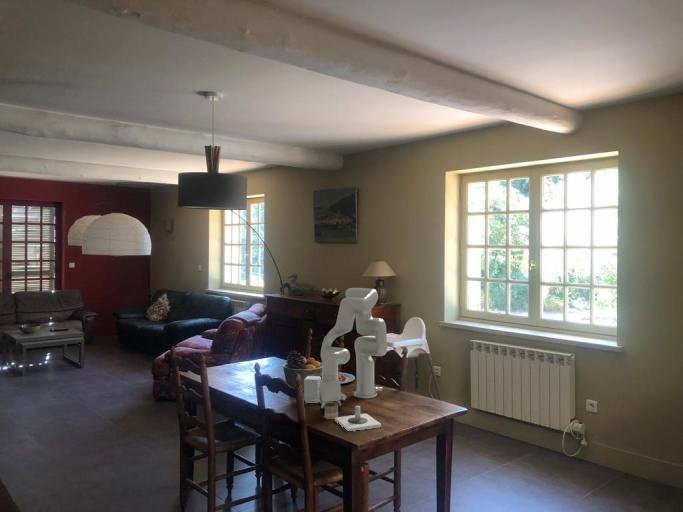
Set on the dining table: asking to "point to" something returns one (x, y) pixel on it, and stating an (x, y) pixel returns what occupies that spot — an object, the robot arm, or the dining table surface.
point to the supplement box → (311, 388)
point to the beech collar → (331, 410)
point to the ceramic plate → (345, 377)
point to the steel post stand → (358, 421)
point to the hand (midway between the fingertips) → (330, 414)
